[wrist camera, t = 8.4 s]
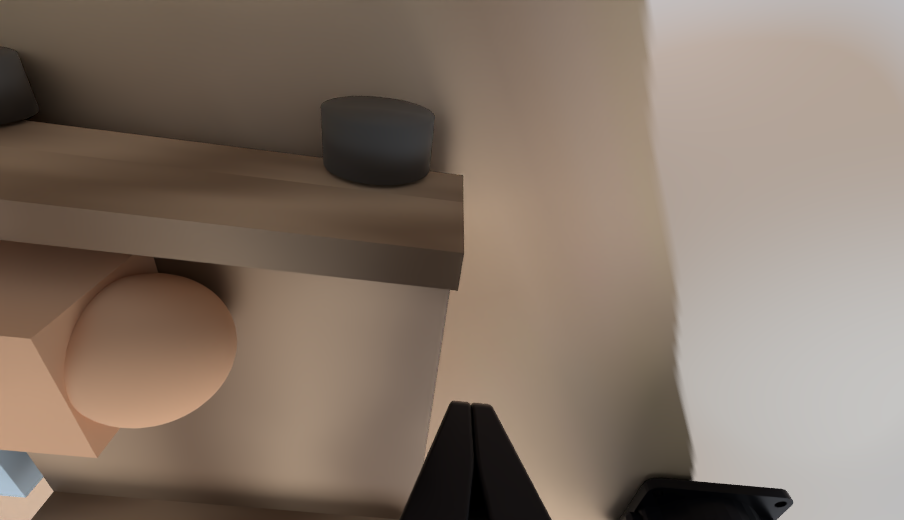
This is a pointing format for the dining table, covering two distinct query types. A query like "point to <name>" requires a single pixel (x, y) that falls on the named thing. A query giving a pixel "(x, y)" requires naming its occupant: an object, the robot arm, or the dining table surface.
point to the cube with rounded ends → (101, 347)
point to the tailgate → (17, 473)
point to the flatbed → (260, 304)
